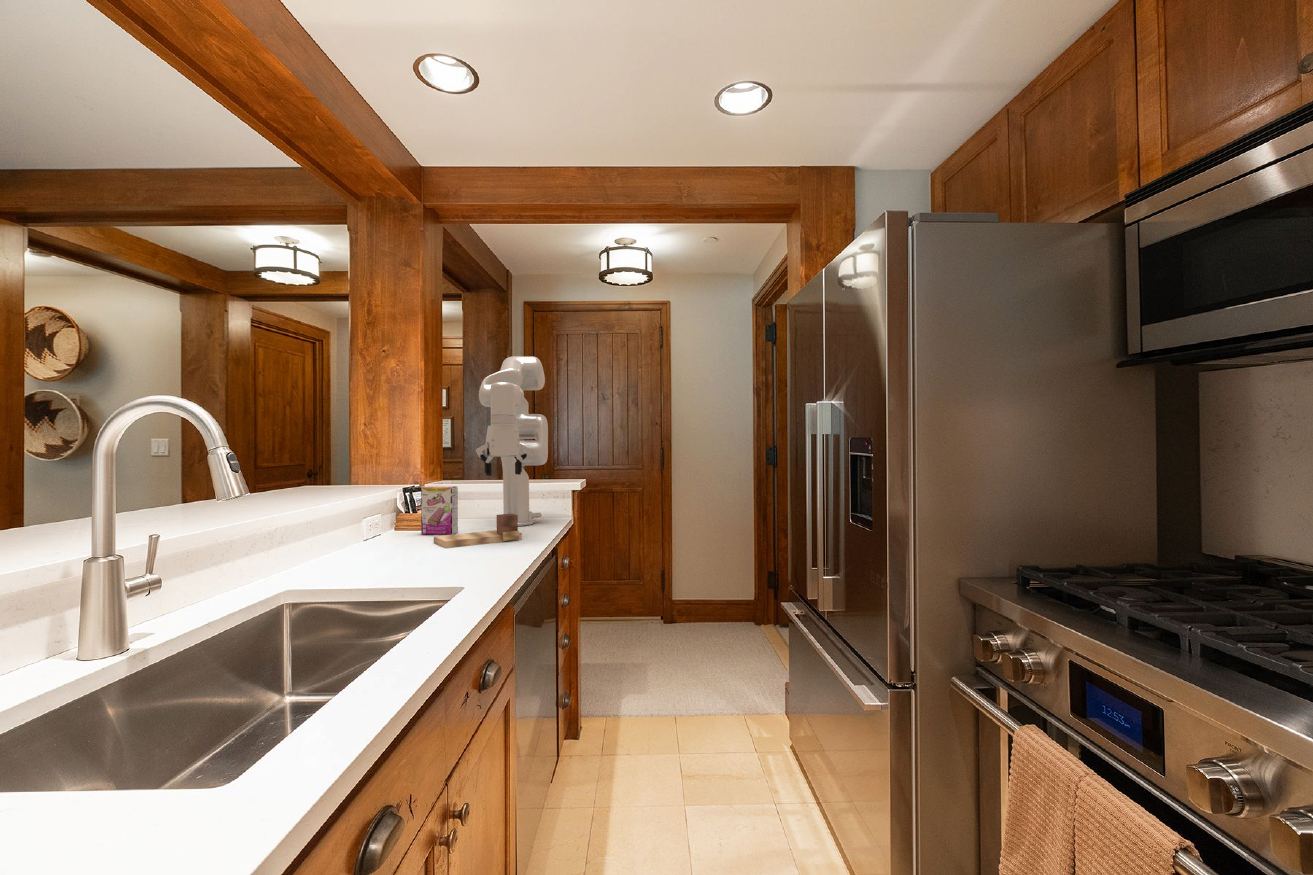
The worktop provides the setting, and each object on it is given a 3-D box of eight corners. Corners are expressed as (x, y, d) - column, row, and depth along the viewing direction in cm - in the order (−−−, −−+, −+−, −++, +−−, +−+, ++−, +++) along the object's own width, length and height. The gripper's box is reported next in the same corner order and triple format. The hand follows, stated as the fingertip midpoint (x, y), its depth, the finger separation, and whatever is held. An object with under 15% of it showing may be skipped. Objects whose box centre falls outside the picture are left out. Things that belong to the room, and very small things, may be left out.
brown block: (511, 536, 198) (511, 513, 198) (519, 538, 193) (518, 515, 193) (496, 538, 195) (496, 514, 195) (504, 540, 190) (503, 516, 190)
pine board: (506, 534, 204) (506, 528, 204) (521, 539, 195) (521, 533, 195) (433, 542, 190) (433, 536, 190) (445, 548, 181) (445, 541, 181)
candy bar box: (420, 535, 206) (420, 486, 206) (427, 532, 211) (427, 485, 211) (452, 535, 205) (451, 486, 205) (458, 533, 210) (458, 485, 210)
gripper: (524, 422, 202) (524, 473, 202) (472, 421, 192) (472, 475, 192) (533, 421, 196) (533, 474, 196) (480, 420, 186) (480, 476, 186)
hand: (503, 475), depth 194 cm, fingers open, 9 cm apart
